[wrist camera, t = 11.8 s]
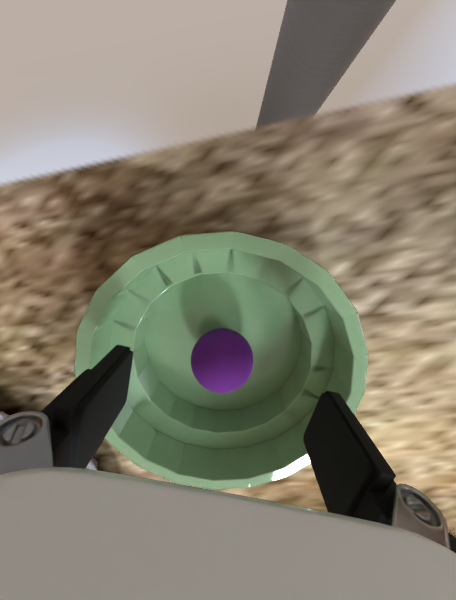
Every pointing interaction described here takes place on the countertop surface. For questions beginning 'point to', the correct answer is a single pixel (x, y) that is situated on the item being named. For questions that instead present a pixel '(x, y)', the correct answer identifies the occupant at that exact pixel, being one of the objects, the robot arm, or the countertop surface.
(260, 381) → the green bowl
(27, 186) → the countertop surface
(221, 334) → the ball
